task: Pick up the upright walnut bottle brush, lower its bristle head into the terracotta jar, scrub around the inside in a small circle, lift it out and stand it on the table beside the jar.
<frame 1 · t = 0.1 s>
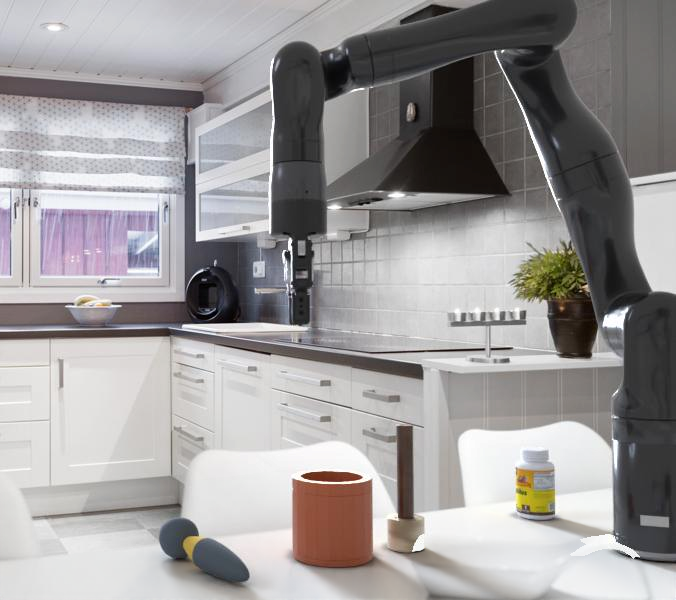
hand: (298, 324, 107), 29 cm above the table, tool pointing down, fingers open, 8 cm apart
jar: (332, 555, 104), on the table
bottle brush: (406, 547, 108), on the table
supplement bottle: (535, 517, 126), on the table
paintbrush: (203, 568, 100), on the table
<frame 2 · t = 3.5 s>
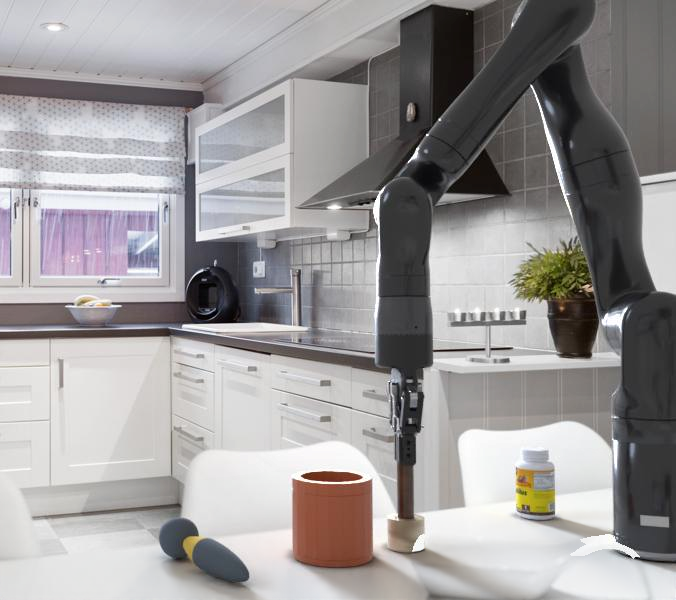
hand: (405, 462, 109), 11 cm above the table, tool pointing down, fingers closed on bottle brush
bottle brush: (406, 547, 108), on the table, touching gripper
everything else where it was.
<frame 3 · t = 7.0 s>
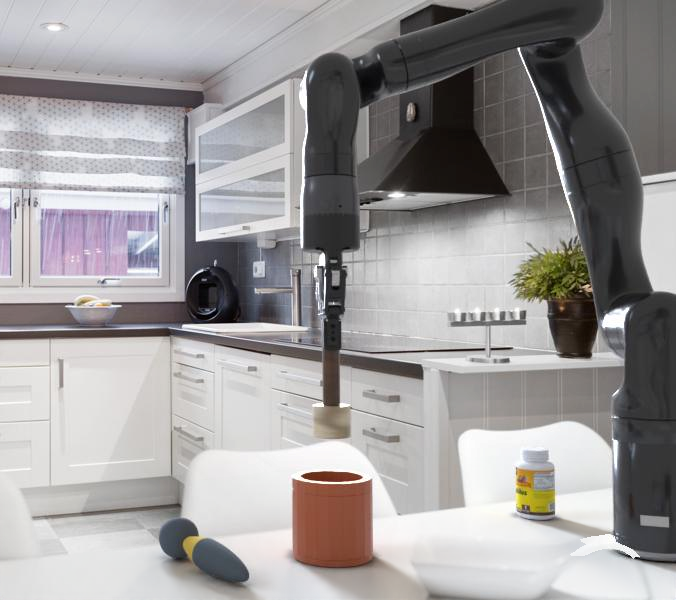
hand: (331, 349, 105), 26 cm above the table, tool pointing down, fingers closed on bottle brush
bottle brush: (331, 436, 105), point 15 cm above the table, touching gripper
everything else where it was.
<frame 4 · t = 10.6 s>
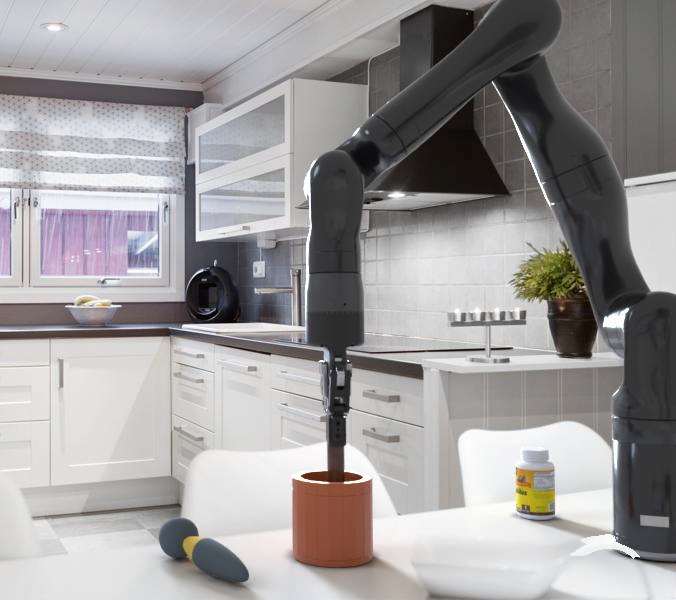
hand: (336, 444, 106), 14 cm above the table, tool pointing down, fingers closed on bottle brush
bottle brush: (336, 531, 105), point 3 cm above the table, touching gripper
everything else where it was.
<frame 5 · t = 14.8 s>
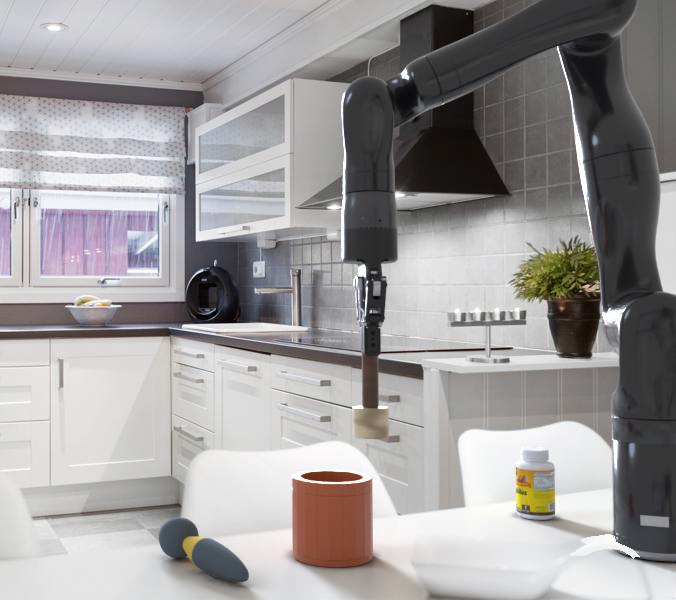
hand: (370, 354, 112), 25 cm above the table, tool pointing down, fingers closed on bottle brush
bottle brush: (370, 436, 112), point 14 cm above the table, touching gripper
everything else where it was.
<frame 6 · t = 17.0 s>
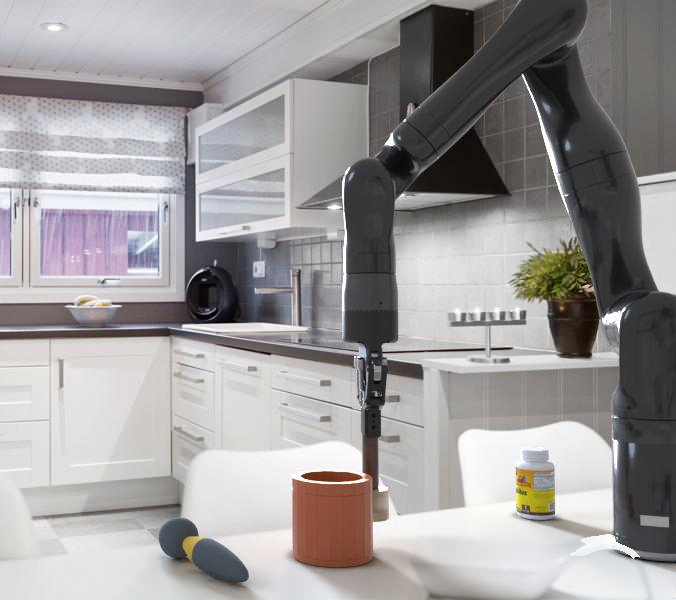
hand: (370, 435, 112), 14 cm above the table, tool pointing down, fingers closed on bottle brush
bottle brush: (370, 517, 111), point 3 cm above the table, touching gripper
everything else where it was.
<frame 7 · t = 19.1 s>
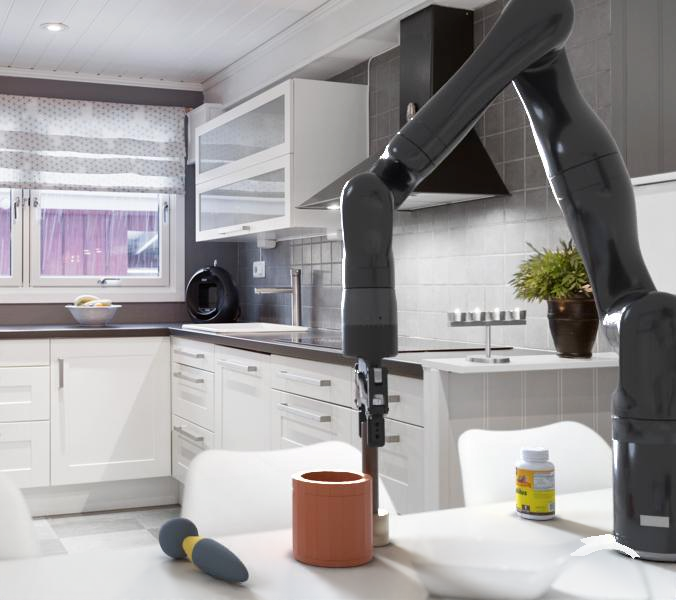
hand: (371, 442, 112), 13 cm above the table, tool pointing down, fingers open, 8 cm apart
bottle brush: (370, 541, 111), on the table
everything else where it was.
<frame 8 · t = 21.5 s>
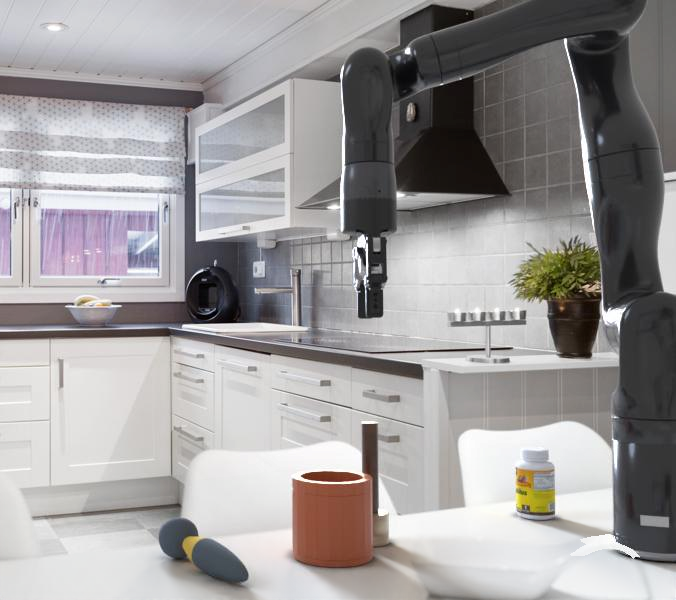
hand: (369, 318, 112), 30 cm above the table, tool pointing down, fingers open, 8 cm apart
nothing on the table moved.
at the end: bottle brush 0.1 cm from the target spot, on the table; bottle brush tilted 0°; the gripper is holding nothing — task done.
